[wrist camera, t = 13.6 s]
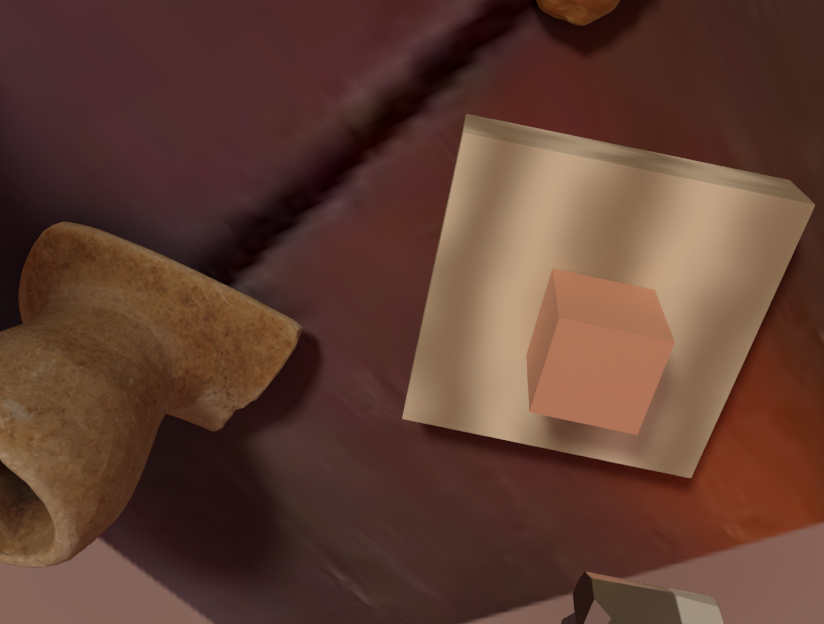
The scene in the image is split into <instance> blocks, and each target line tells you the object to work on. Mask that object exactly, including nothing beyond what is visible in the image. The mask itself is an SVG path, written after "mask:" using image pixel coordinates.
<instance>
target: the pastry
mask: <svg viewBox="0 0 824 624" xmlns="http://www.w3.org/2000/svg"><path fill="white" fill-rule="evenodd" d="M536 1H537V4H538V6H539V8H540V9H541V10H542V11H544V12H545V13H547V14H549V15H551V16H553V17H555V18H558V19H562V20H566V21H568V22H570V23H572V24H575V25H582V26H584V25H587V24H589V23H591V22H593V21H594V20H596V19H599V18H600V17H602V16H603V15H606V14H608V13H610V12H611V11H613V10H614V9H615V8H616V6H617V5H618V3H619V2H620V0H536Z"/></svg>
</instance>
